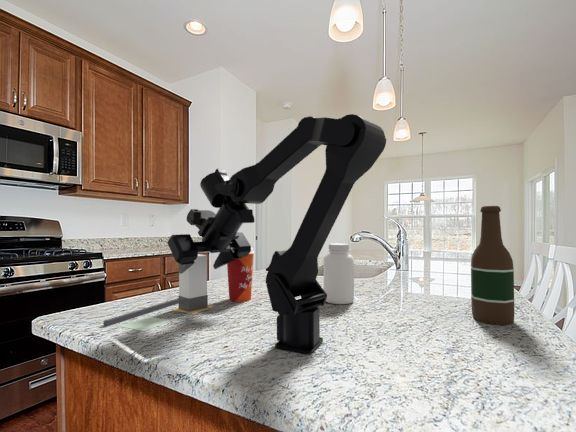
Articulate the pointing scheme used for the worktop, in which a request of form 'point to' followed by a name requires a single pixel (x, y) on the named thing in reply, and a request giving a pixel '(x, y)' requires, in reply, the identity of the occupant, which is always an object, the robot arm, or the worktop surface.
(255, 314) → the worktop surface
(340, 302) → the pill bottle
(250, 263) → the paper cup
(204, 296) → the plug
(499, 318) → the beer bottle
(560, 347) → the worktop surface
